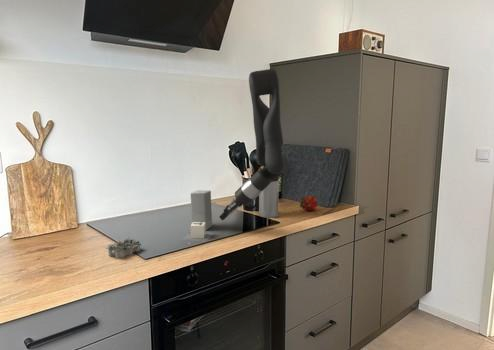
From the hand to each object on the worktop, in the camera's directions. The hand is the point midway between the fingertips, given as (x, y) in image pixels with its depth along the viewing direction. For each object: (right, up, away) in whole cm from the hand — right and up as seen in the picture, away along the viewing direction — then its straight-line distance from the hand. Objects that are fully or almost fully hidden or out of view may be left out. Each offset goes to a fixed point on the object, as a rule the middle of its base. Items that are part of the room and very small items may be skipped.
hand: (221, 218), depth 151 cm
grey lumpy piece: (-32, -9, -25) cm, 42 cm away
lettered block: (-9, -6, -8) cm, 13 cm away
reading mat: (-9, -6, -8) cm, 13 cm away
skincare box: (-9, -5, +4) cm, 10 cm away
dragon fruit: (+42, 0, +35) cm, 55 cm away
